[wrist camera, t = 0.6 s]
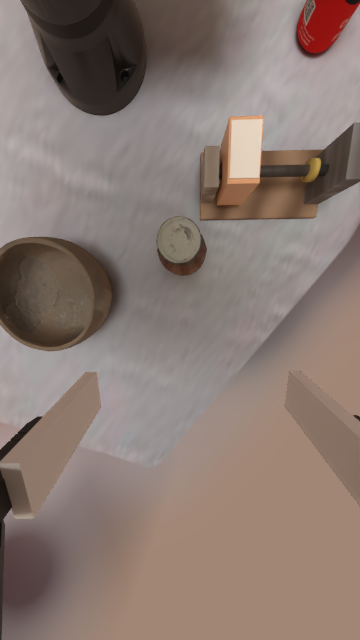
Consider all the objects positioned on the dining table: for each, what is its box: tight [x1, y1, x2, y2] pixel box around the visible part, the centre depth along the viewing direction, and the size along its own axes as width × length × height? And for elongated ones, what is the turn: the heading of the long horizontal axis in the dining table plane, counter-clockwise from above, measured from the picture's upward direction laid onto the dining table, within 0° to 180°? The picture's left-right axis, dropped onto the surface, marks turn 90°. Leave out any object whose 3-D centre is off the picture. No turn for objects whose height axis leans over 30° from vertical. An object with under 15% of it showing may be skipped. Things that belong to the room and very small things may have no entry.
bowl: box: [0, 237, 112, 351], centre depth 34 cm, size 17×18×10 cm
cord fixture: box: [200, 123, 360, 220], centre depth 29 cm, size 20×10×10 cm, turn 91°
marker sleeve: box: [217, 116, 264, 205], centre depth 28 cm, size 7×4×8 cm, turn 1°
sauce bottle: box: [157, 216, 207, 276], centre depth 27 cm, size 6×6×20 cm
